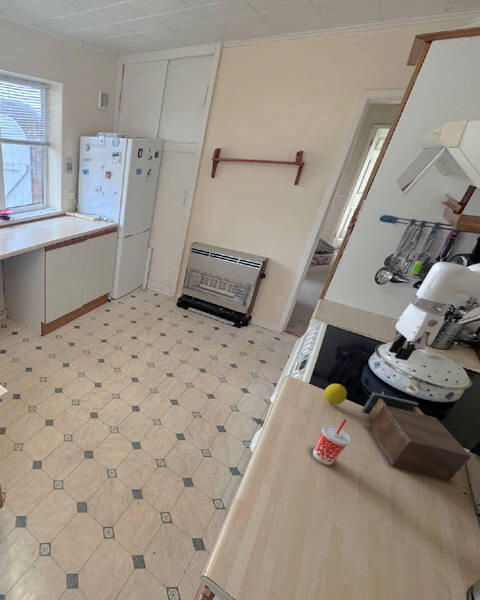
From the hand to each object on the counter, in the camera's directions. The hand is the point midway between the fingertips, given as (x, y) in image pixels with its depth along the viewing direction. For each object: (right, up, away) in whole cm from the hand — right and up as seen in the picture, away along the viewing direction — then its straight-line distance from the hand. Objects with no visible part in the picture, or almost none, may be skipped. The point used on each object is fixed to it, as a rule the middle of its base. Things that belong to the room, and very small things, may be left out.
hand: (397, 355), depth 102 cm
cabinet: (-8, -26, -10) cm, 29 cm away
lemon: (-17, -17, +6) cm, 25 cm away
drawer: (-5, -21, -2) cm, 22 cm away
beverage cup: (-34, -26, -14) cm, 45 cm away
